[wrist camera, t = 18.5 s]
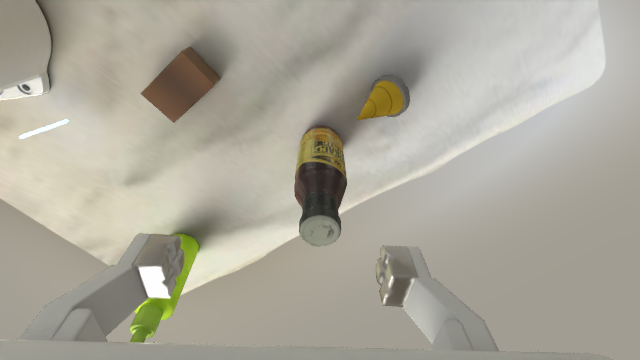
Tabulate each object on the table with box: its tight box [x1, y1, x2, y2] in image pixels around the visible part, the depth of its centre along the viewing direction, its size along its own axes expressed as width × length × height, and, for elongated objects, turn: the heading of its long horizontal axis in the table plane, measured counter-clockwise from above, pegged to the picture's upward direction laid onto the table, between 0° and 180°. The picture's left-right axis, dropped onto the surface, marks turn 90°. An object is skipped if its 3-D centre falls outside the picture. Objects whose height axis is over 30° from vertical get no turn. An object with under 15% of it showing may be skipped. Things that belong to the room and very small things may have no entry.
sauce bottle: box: [294, 126, 347, 247], centre depth 38 cm, size 7×6×20 cm
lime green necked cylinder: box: [129, 234, 199, 343], centre depth 49 cm, size 6×7×20 cm
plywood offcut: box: [141, 47, 220, 123], centre depth 40 cm, size 8×5×3 cm, turn 128°
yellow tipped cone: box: [357, 75, 410, 120], centre depth 40 cm, size 5×5×10 cm
